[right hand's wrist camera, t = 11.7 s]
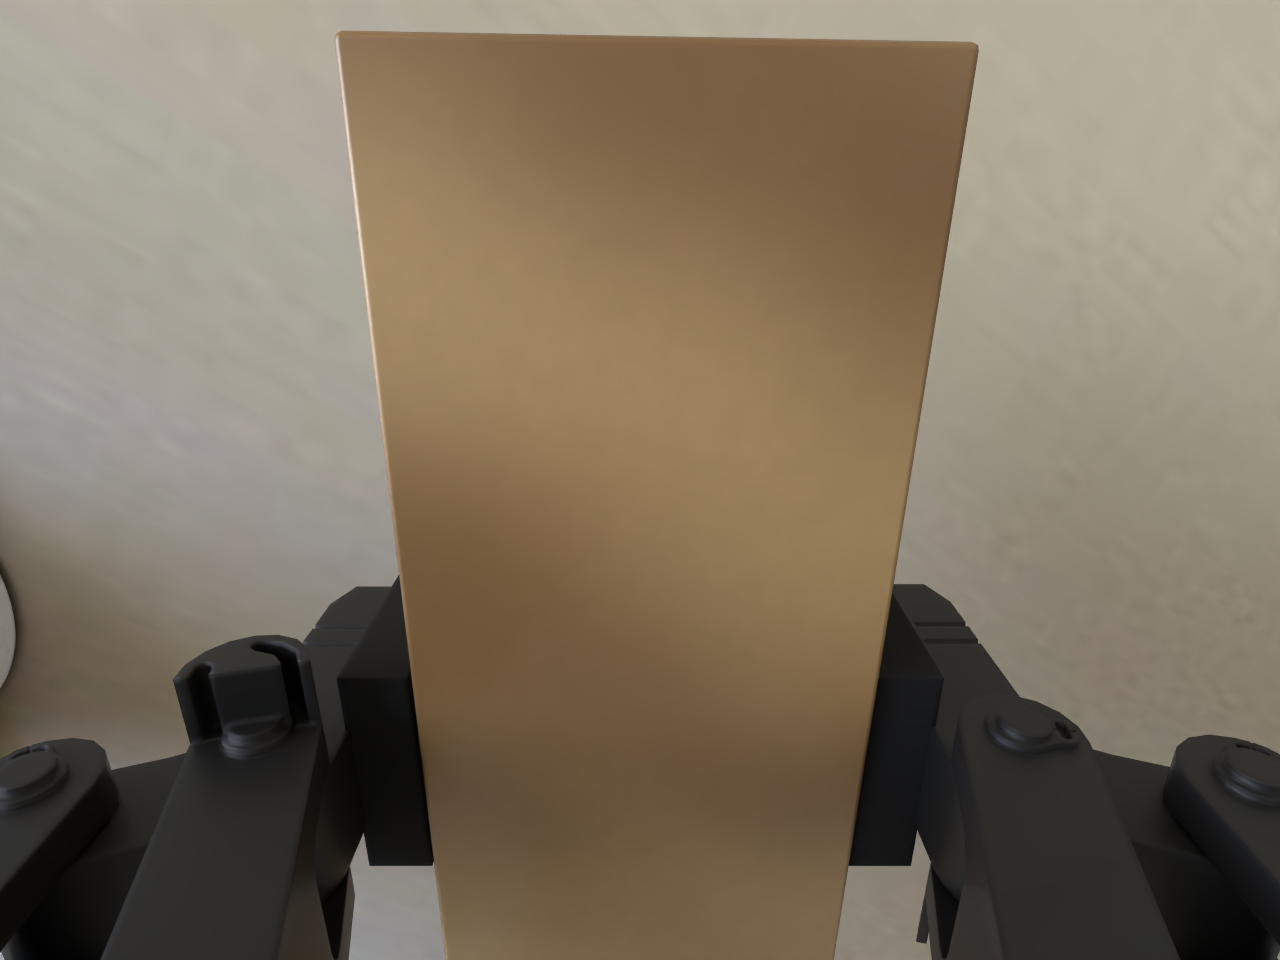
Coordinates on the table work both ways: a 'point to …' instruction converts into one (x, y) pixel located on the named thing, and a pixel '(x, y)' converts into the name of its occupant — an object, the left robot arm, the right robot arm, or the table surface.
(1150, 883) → the right robot arm
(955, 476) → the table surface
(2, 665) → the left robot arm
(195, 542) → the table surface
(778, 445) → the post
